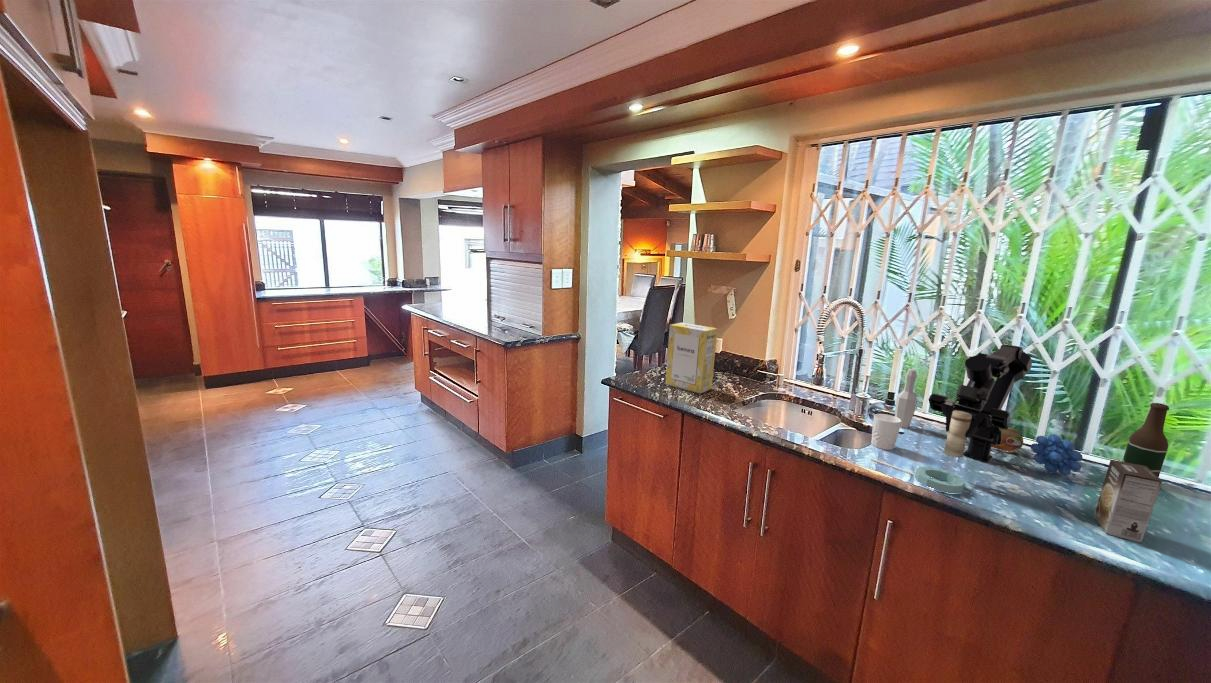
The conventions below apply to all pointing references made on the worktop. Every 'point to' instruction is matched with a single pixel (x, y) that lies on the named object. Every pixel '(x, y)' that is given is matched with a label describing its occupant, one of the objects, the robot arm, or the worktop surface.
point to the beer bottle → (1149, 441)
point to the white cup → (885, 431)
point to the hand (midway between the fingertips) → (956, 433)
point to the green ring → (952, 480)
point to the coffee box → (1127, 500)
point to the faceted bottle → (906, 400)
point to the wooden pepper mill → (957, 433)
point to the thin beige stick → (892, 466)
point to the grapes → (1056, 454)
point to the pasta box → (691, 357)
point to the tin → (1009, 440)
